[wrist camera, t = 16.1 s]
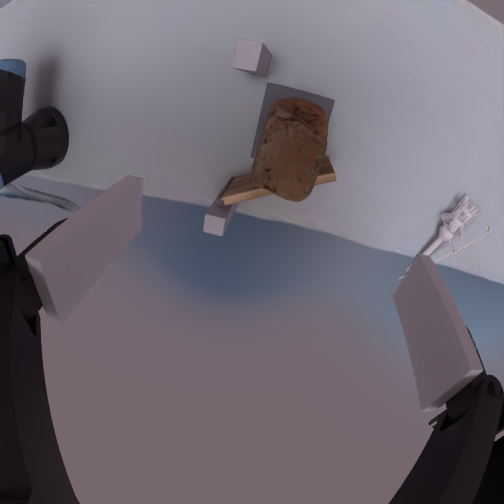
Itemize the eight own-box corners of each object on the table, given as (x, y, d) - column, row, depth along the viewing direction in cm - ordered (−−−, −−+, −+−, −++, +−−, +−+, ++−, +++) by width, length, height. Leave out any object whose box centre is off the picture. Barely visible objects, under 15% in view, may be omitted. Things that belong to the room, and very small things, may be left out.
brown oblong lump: (304, 164, 45) (307, 214, 29) (262, 150, 45) (238, 191, 29) (326, 106, 39) (346, 117, 23) (281, 91, 39) (269, 90, 22)
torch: (393, 243, 60) (479, 192, 39) (404, 279, 57) (496, 234, 36) (378, 241, 57) (470, 184, 36) (389, 280, 54) (490, 231, 33)
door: (229, 178, 49) (213, 199, 40) (327, 155, 44) (334, 172, 35) (233, 191, 50) (219, 214, 42) (330, 169, 45) (338, 189, 37)
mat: (250, 157, 46) (250, 157, 46) (268, 82, 39) (267, 82, 38) (312, 173, 46) (312, 173, 46) (334, 100, 39) (334, 100, 38)
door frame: (222, 200, 52) (203, 231, 42) (253, 51, 36) (238, 39, 26) (237, 204, 52) (222, 236, 42) (271, 54, 36) (262, 42, 26)
